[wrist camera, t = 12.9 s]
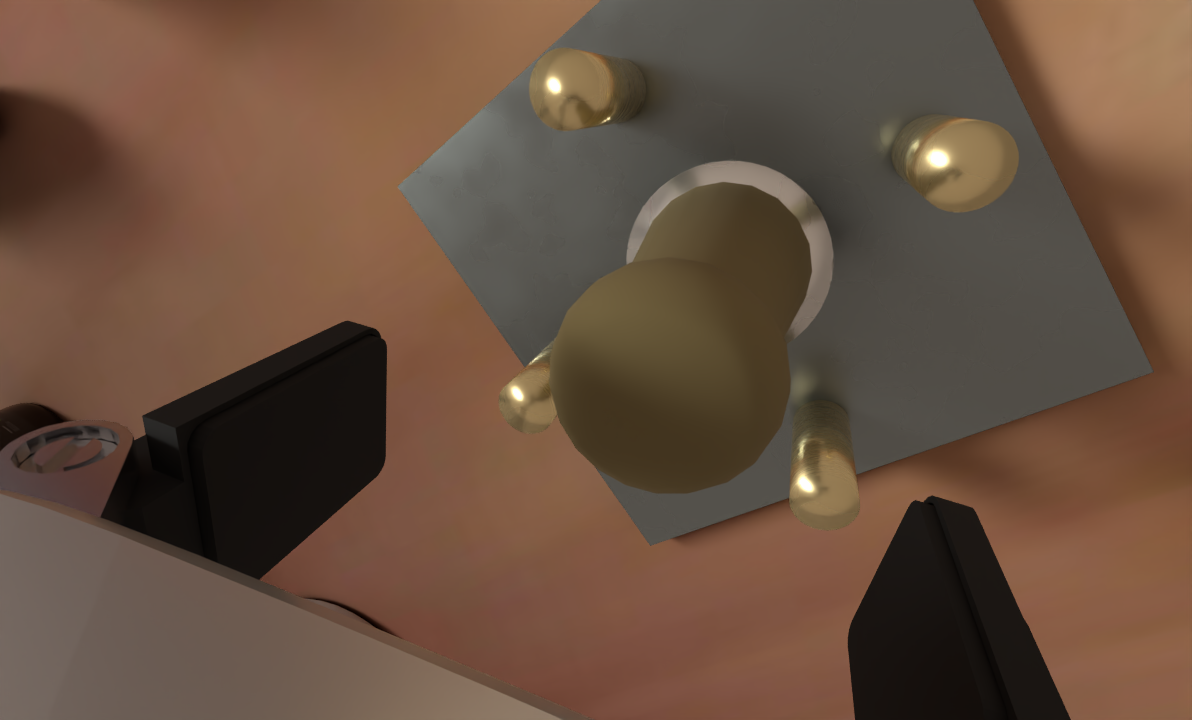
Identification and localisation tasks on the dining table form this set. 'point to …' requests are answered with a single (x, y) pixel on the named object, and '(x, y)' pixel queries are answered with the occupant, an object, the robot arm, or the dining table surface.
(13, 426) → the supplement bottle
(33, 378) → the dining table surface
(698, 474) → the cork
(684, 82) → the chassis plate
